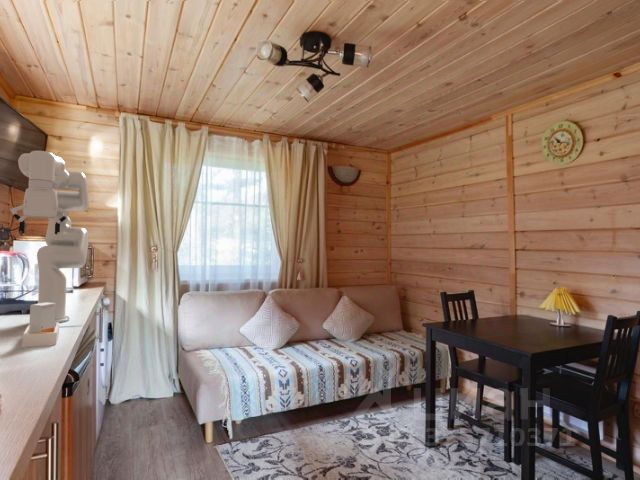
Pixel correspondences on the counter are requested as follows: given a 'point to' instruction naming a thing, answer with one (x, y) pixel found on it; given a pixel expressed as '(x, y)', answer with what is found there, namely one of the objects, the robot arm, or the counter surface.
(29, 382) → the counter surface
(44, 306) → the skincare box
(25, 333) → the cream rectangular tray
